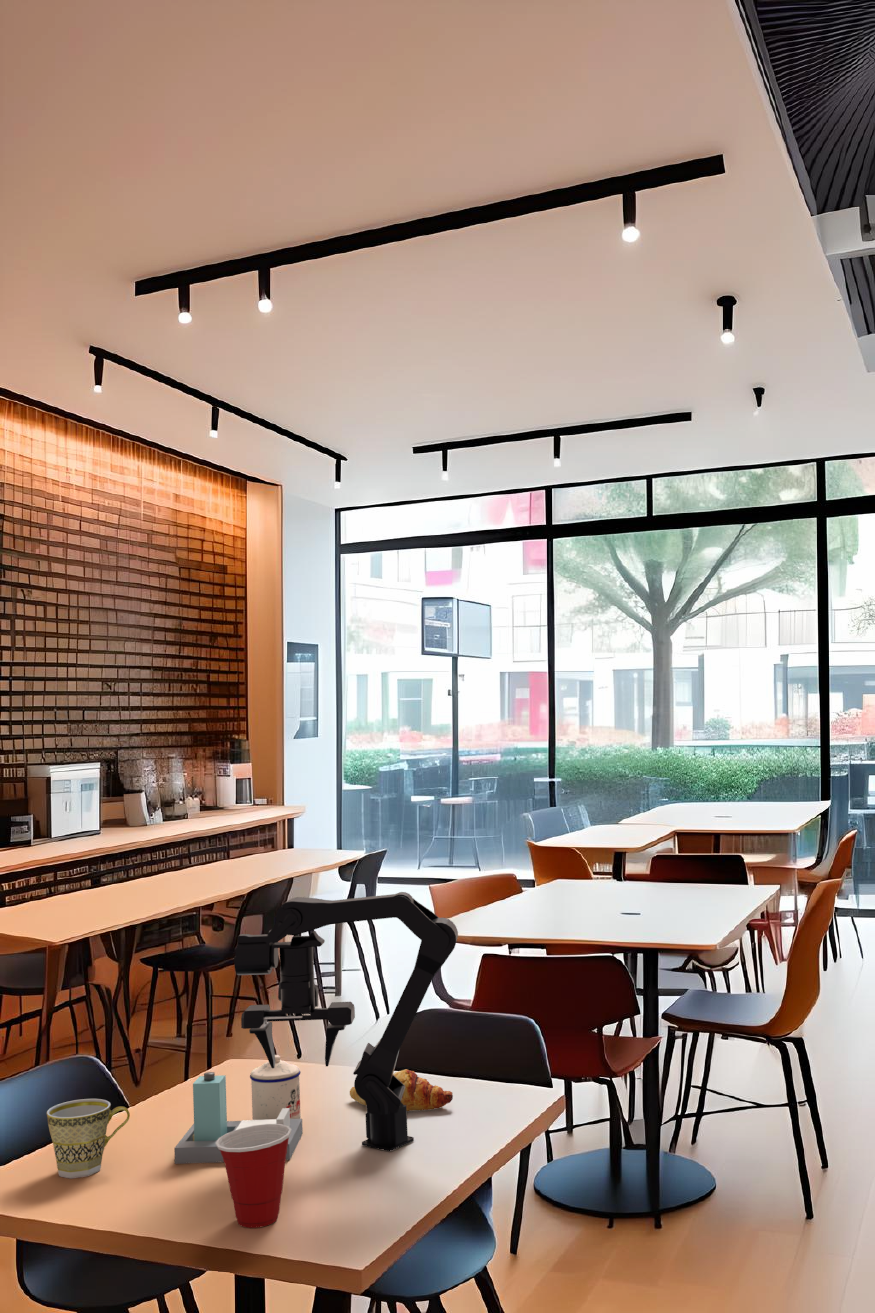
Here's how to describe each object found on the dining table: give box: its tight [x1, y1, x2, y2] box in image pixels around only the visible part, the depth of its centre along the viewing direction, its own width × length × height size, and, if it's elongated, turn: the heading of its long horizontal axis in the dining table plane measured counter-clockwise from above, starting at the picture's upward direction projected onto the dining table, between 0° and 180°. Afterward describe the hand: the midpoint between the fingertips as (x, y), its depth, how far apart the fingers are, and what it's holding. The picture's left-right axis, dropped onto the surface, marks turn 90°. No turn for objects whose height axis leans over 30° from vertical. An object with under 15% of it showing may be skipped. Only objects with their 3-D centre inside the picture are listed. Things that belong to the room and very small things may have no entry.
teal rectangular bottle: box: [192, 1071, 228, 1141], centre depth 193 cm, size 5×4×12 cm
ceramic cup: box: [46, 1098, 130, 1179], centre depth 186 cm, size 13×10×10 cm
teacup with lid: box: [249, 1054, 302, 1120], centre depth 207 cm, size 12×9×12 cm
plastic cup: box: [216, 1124, 292, 1229], centre depth 162 cm, size 11×11×12 cm
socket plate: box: [174, 1118, 304, 1165], centre depth 192 cm, size 19×13×2 cm
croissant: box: [349, 1068, 454, 1112], centre depth 212 cm, size 21×10×8 cm, turn 68°
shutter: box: [236, 1108, 290, 1130], centre depth 193 cm, size 8×8×3 cm
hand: (300, 1067), depth 193 cm, fingers open, 9 cm apart
